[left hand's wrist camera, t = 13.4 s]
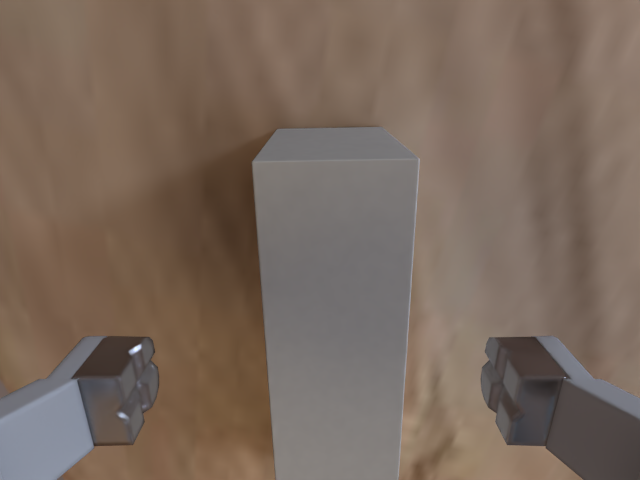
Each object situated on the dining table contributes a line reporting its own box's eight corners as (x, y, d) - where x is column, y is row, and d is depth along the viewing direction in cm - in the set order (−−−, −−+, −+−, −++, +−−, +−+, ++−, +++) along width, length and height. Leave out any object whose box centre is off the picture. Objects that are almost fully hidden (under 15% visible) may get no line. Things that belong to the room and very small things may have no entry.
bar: (276, 128, 23) (251, 161, 14) (382, 126, 23) (420, 158, 14) (294, 461, 31) (284, 605, 23) (371, 460, 31) (390, 604, 23)
